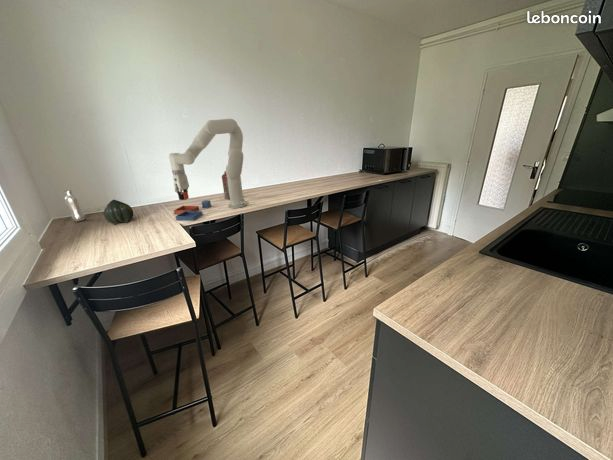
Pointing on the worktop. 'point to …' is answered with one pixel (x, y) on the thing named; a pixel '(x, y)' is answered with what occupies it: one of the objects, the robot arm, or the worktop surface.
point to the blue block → (206, 204)
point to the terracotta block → (185, 195)
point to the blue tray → (189, 215)
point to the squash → (118, 212)
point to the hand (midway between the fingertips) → (184, 198)
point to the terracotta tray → (185, 209)
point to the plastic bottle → (74, 206)
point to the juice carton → (225, 186)
